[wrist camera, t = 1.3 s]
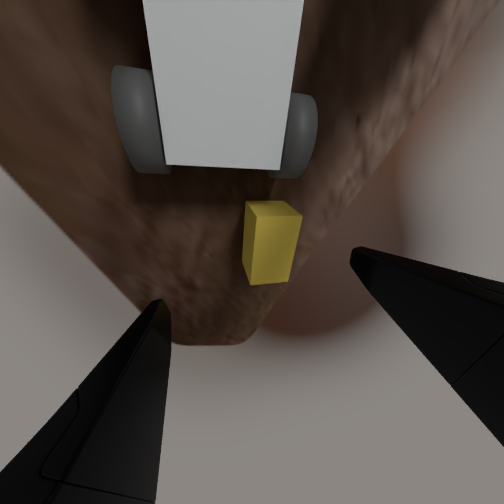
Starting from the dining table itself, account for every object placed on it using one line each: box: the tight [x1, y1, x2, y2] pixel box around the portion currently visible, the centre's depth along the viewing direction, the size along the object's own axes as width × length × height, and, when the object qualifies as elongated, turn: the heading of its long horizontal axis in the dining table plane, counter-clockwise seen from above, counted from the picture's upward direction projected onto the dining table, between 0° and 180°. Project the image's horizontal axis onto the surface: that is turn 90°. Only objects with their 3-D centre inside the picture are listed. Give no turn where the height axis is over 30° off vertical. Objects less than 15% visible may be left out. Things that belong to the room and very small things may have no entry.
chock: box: [242, 200, 303, 285], centre depth 21 cm, size 4×8×5 cm, turn 175°
